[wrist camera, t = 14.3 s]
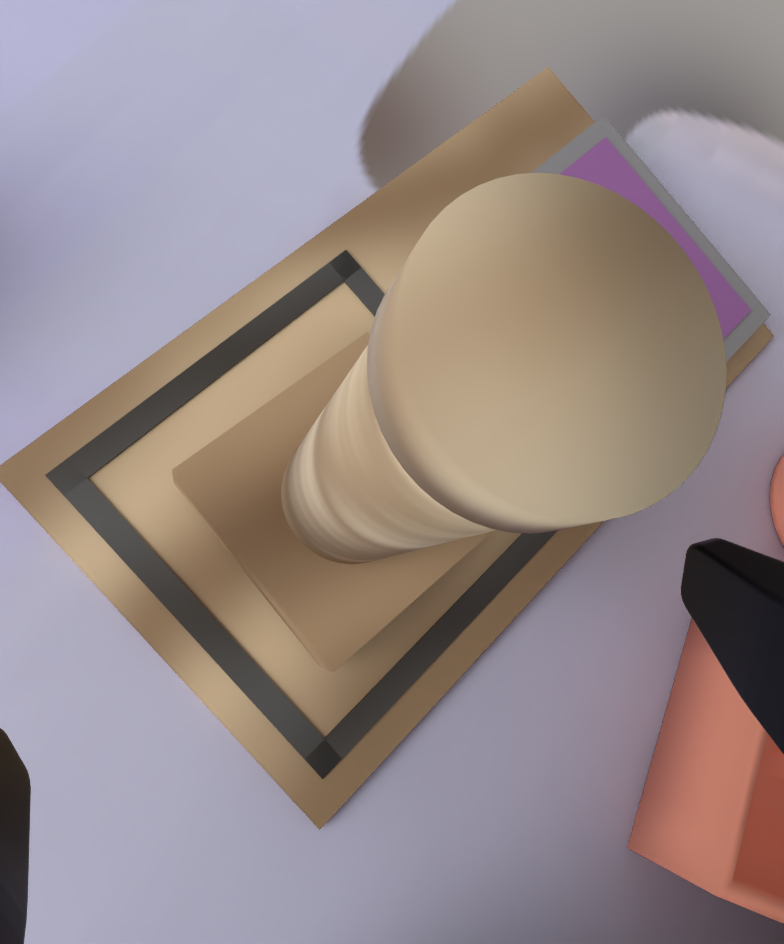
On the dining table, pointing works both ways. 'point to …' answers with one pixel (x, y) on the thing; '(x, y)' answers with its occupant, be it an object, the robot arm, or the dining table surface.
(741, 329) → the ink pad
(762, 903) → the pottery
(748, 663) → the robot arm
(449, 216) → the stamp
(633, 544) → the dining table surface
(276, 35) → the dining table surface
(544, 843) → the dining table surface
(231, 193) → the dining table surface
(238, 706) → the stamp board
